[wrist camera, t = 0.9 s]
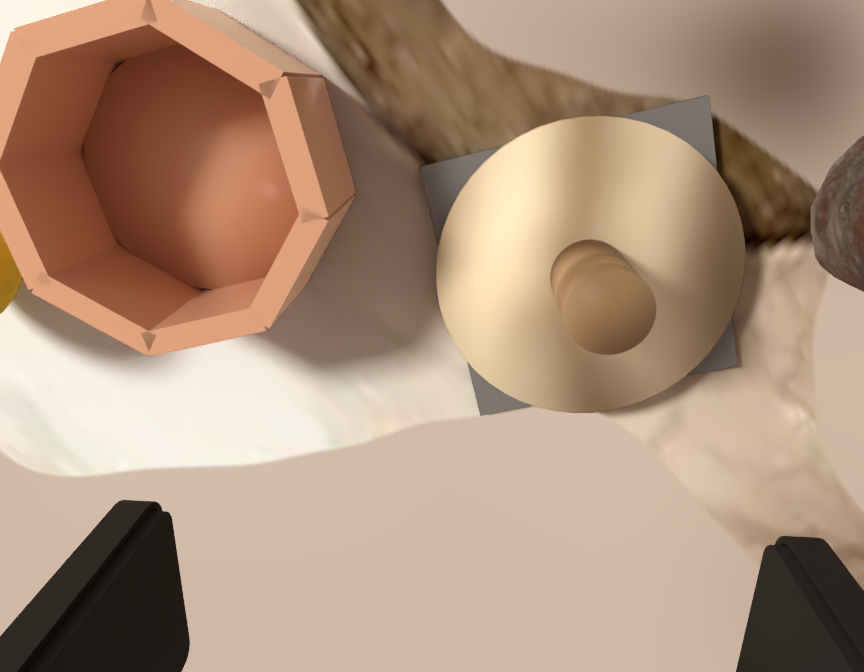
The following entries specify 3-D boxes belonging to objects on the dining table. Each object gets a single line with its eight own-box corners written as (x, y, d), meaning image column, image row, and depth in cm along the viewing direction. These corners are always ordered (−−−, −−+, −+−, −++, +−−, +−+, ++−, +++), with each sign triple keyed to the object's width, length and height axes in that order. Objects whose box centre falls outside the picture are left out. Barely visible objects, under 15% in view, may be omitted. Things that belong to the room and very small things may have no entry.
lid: (720, 78, 27) (787, 76, 21) (749, 373, 31) (811, 437, 25) (404, 158, 28) (387, 176, 23) (472, 426, 33) (473, 497, 27)
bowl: (297, -16, 27) (250, -44, 21) (378, 269, 31) (356, 310, 25) (29, 63, 28) (-81, 57, 23) (138, 324, 32) (67, 374, 27)
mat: (705, 95, 27) (709, 95, 27) (733, 361, 31) (737, 365, 31) (419, 166, 29) (419, 167, 28) (480, 411, 33) (480, 415, 32)
